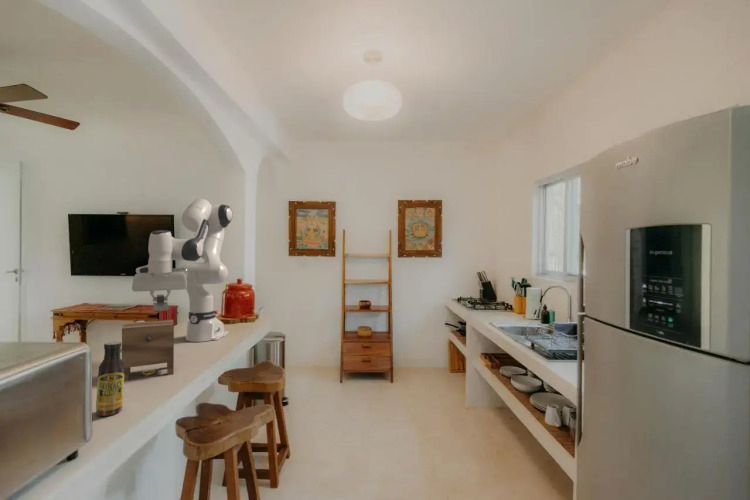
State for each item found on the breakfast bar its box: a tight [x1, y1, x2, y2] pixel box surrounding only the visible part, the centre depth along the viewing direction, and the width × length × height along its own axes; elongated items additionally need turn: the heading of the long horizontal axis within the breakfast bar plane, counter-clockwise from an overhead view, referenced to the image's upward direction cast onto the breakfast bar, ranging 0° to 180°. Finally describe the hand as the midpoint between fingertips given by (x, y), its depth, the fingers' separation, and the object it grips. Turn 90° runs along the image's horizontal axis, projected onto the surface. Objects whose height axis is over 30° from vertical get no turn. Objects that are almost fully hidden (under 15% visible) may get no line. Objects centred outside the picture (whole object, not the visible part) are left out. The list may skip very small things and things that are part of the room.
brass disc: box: [142, 368, 156, 376], centre depth 139 cm, size 4×4×1 cm
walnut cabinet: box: [121, 319, 175, 382], centre depth 138 cm, size 11×16×18 cm
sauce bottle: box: [95, 340, 125, 417], centre depth 106 cm, size 6×6×20 cm
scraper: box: [153, 294, 170, 312], centre depth 152 cm, size 18×5×4 cm, turn 31°
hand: (160, 301), depth 158 cm, fingers closed on scraper, 2 cm apart
